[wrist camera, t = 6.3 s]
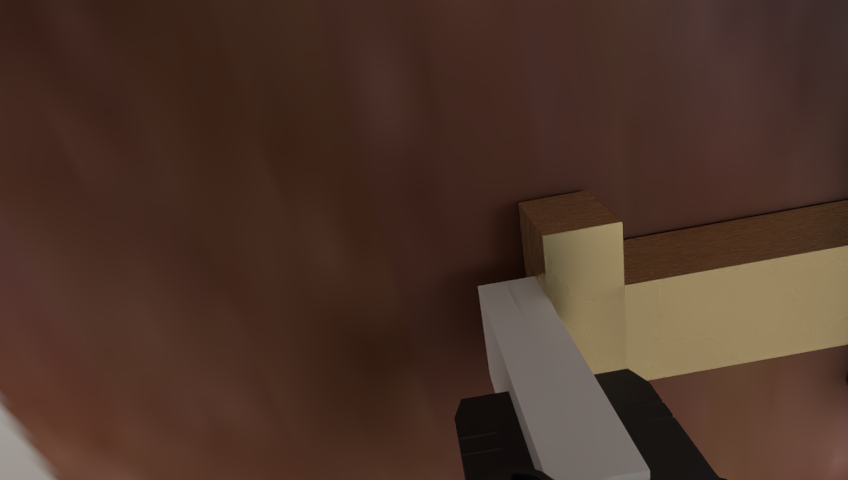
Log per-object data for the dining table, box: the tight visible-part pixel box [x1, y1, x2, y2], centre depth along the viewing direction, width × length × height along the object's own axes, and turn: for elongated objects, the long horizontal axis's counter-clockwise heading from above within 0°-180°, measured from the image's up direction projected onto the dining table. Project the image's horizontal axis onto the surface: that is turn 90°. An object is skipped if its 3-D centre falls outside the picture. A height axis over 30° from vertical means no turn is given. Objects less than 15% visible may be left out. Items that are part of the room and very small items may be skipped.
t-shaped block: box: [518, 191, 848, 380], centre depth 15 cm, size 6×11×2 cm, turn 99°
